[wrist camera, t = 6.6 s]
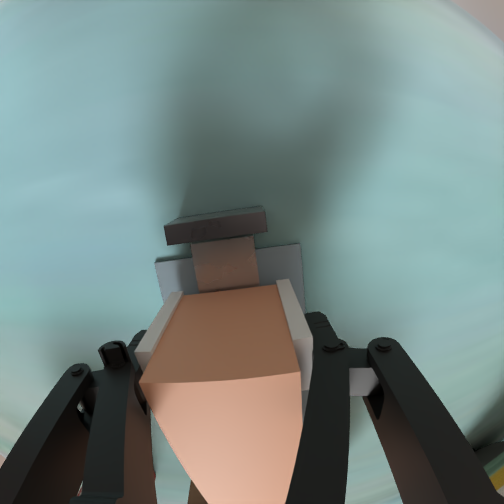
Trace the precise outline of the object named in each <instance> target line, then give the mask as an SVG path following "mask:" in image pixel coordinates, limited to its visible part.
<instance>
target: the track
mask: <svg viewBox="0 0 504 504" xmlns="http://www.w3.org/2000/svg"><path fill="white" fill-rule="evenodd" d="M164 230H165V236H166V241H167V246H168V245H175V244H182V243H189V242H192V243H191V244H190V247H191V252H192V258H193V263H194V268H195V273H196V279H197V284H198V288H199V293H200V294H201V293H210V292H219V291H227V290H236V289H244V288H252V287H259V286H260V283H259V275H258V267H257V260H256V252H255V245H254V237H253V234H255V233H262V232H267V225H266V217H265V211H264V209H263V208H262V206H258V207H250V208H243V209H235V210H228V211H221V212H214V213H208V214H201V215H194V216H188V217H182V218H177V219H175V220H174V221H172V222H170V223H168V224H166V225H165V226H164Z"/></svg>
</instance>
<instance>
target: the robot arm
mask: <svg viewBox="0 0 504 504" xmlns="http://www.w3.org/2000/svg"><path fill="white" fill-rule="evenodd" d="M276 284H277V288H278V292H279V295H280V299H281V302H282V306H283V309H284V313H285V317H286V320H287V324H288V328H289V331H290V335H291V339H292V342H293V346H294V350H295V353H296V357H297V361H298V364H299V368H300V373H301V391H304V390H309V392H308V399H307V405H306V410H305V416H304V421H303V427H302V432H301V437H300V442H299V447H298V452H297V456H296V461H295V465H294V470H293V474H292V478H291V482H290V486H289V490H288V494H287V498H286V502H285V504H345V494H346V484H347V471H348V455H349V428H350V396H362V398H363V400H364V402H365V405H366V407H367V410H368V412H369V414H370V417H371V419H372V422H373V424H374V427H375V429H376V432H377V434H378V437H379V439H380V442H381V444H382V447H383V450H384V452H385V455H386V457H387V460H388V463H389V465H390V468H391V471H392V474H393V476H394V479H395V482H396V485H397V487H398V490H399V493H400V496H401V499H402V502H403V504H504V497H503V496H502V495H501V494H499V493H498V492H497V491H496V489H495V487H494V485H493V484H492V482H491V480H490V478H489V476H488V475H487V473H486V471H485V469H484V468H483V466H482V464H481V463H480V461H479V459H478V457H477V456H476V454H475V453H474V451H473V449H472V448H471V446H470V444H469V443H468V441H467V440H466V438H465V436H464V435H463V433H462V432H461V430H460V429H459V427H458V426H457V424H456V423H455V421H454V419H453V418H452V416H451V415H450V413H449V412H448V411H447V409H446V408H445V406H444V405H443V403H442V402H441V400H440V399H439V397H438V396H437V394H436V393H435V392H434V390H433V389H432V387H431V386H430V385H429V383H428V382H427V380H426V379H425V378H424V376H423V375H422V373H421V372H420V371H419V369H418V368H417V367H416V365H415V364H414V363H413V361H412V360H411V359H410V357H409V356H408V354H407V353H406V352H405V351H404V349H403V348H402V347H401V345H400V344H399V343H398V342H397V341H396V340H394V339H391V338H386V337H381V338H376V339H373V340H372V341H371V342H369V344H368V348H367V349H356V348H349V347H348V345H347V343H346V342H345V341H343V340H341V339H338V337H337V335H336V334H335V332H334V330H333V328H332V326H331V325H330V323H329V322H328V319H327V317H326V316H325V315H324V314H322V313H321V312H312V313H306V314H303V312H302V309H301V307H300V304H299V302H298V300H297V297H296V295H295V292H294V290H293V288H292V285H291V283H290V280H289V279H283V280H276ZM183 295H184V292H183V291H178V292H171V294H170V295H169V297H168V298H167V300H166V301H165V303H164V305H163V306H162V308H161V309H160V311H159V312H158V314H157V316H156V317H155V319H154V320H153V322H152V324H151V325H150V327H149V328H148V330H141V331H140V332H139V333H137V334H136V335H135V336H134V338H133V339H132V341H131V342H130V344H129V346H128V347H126V344H125V343H124V342H123V341H111V342H108V343H106V344H104V345H102V346H101V347H100V348H99V350H98V352H99V354H100V357H101V359H102V361H103V364H104V370H99V371H93V372H91V369H90V367H89V366H88V365H87V364H84V363H81V364H75V365H73V366H71V367H70V368H69V369H68V370H66V372H65V373H64V374H63V376H62V377H61V378H60V380H59V381H58V382H57V384H56V385H55V386H54V388H53V389H52V391H51V392H50V393H49V395H48V396H47V397H46V399H45V400H44V402H43V403H42V405H41V406H40V407H39V409H38V410H37V412H36V413H35V415H34V416H33V418H32V419H31V420H30V422H29V423H28V425H27V426H26V428H25V429H24V431H23V432H22V434H21V436H20V437H19V439H18V440H17V442H16V443H15V445H14V447H13V448H12V450H11V451H10V453H9V455H8V456H7V458H6V460H5V461H4V463H3V465H2V466H1V468H0V504H157V498H156V490H155V480H154V470H153V458H152V442H151V418H150V406H149V404H148V402H147V400H146V397H145V395H144V393H143V391H142V389H141V387H140V384H139V381H140V379H141V377H142V375H143V373H144V371H145V369H146V367H147V365H148V363H149V361H150V359H151V356H152V355H153V353H154V351H155V349H156V347H157V345H158V343H159V341H160V339H161V337H162V335H163V333H164V331H165V329H166V327H167V325H168V323H169V321H170V320H171V318H172V316H173V314H174V312H175V310H176V308H177V306H178V304H179V302H180V300H181V299H182V297H183ZM79 403H80V404H81V406H82V408H83V409H82V411H81V412H80V411H79V410H78V408H77V406H78V404H79ZM82 481H83V484H82V492H81V495H80V496H77V494H78V491H79V489H80V486H81V483H82Z"/></svg>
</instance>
